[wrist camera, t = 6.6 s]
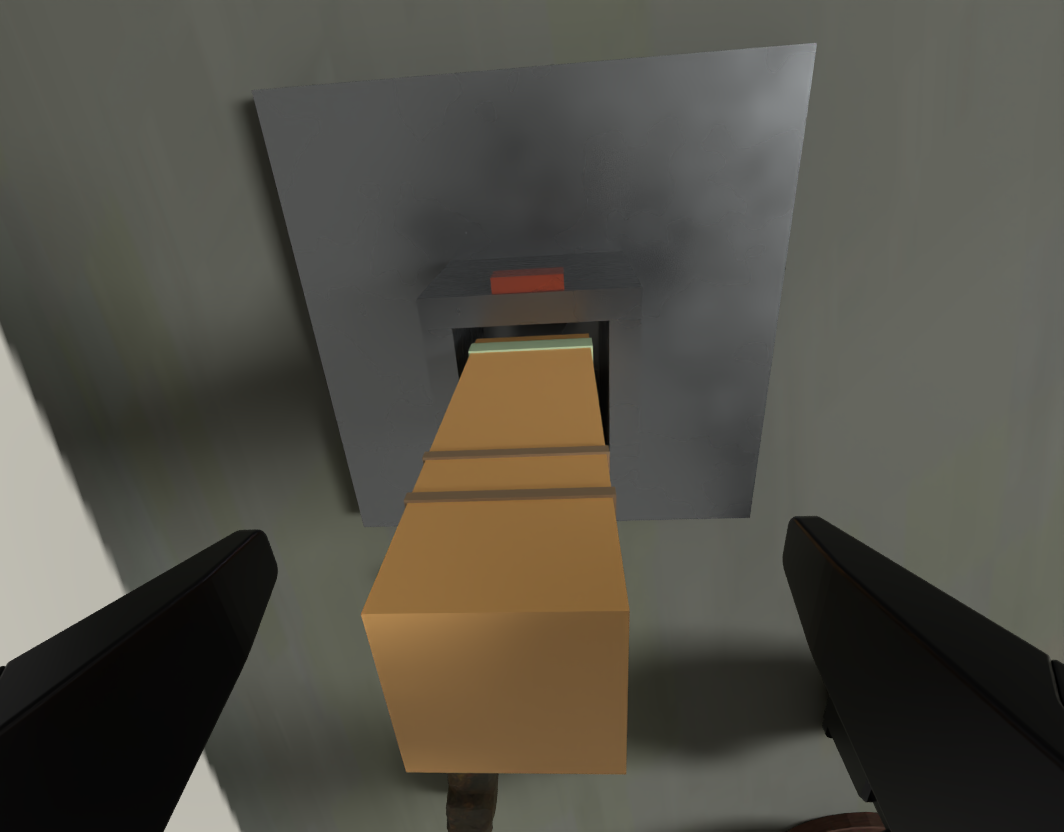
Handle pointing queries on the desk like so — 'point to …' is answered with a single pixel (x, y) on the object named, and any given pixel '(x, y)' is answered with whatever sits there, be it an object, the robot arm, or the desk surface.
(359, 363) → the jack stand base
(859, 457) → the desk surface
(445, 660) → the column
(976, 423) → the desk surface
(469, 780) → the rusty railroad spike
